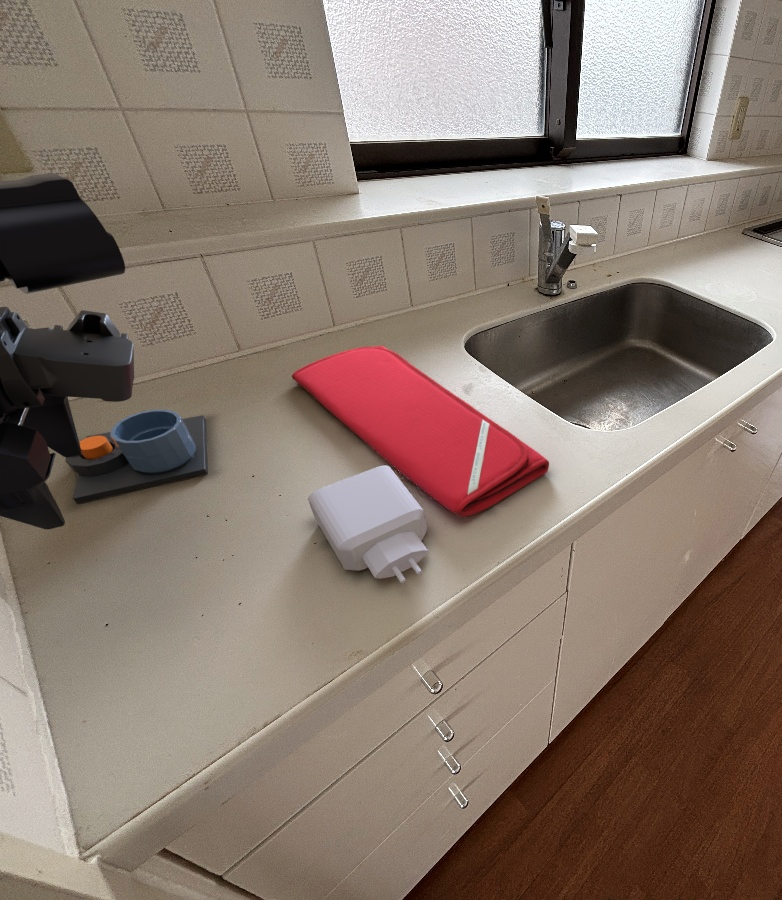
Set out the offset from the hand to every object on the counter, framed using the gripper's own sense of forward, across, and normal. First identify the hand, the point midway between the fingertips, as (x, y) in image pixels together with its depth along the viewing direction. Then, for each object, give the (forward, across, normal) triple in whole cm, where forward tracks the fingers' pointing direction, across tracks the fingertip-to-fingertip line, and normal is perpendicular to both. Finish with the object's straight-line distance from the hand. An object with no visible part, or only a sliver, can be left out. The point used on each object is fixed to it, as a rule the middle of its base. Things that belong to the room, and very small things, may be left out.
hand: (65, 488), depth 41 cm
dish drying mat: (+13, +14, -31) cm, 36 cm away
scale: (+12, +20, 0) cm, 24 cm away
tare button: (+10, +20, +4) cm, 23 cm away
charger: (+13, -6, -22) cm, 26 cm away
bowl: (+12, +18, -2) cm, 21 cm away
